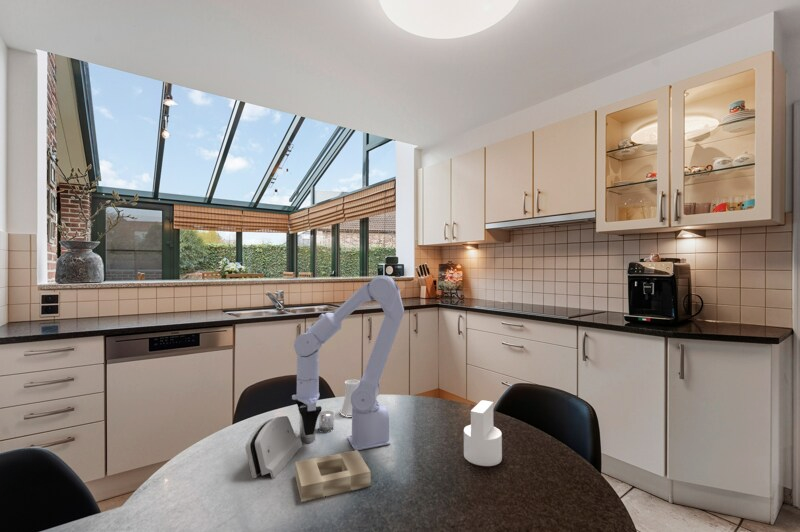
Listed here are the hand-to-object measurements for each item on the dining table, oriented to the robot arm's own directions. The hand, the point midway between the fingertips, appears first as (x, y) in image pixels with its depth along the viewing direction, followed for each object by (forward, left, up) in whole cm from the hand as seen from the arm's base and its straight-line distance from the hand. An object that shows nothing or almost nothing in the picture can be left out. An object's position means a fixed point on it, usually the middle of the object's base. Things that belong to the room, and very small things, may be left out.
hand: (307, 429), depth 96 cm
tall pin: (0, 0, -3) cm, 3 cm away
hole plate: (-2, +22, -3) cm, 22 cm away
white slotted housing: (+9, +7, -3) cm, 12 cm away
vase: (-16, -14, -3) cm, 21 cm away
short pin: (-6, -5, -3) cm, 8 cm away
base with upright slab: (-38, +25, -3) cm, 46 cm away
